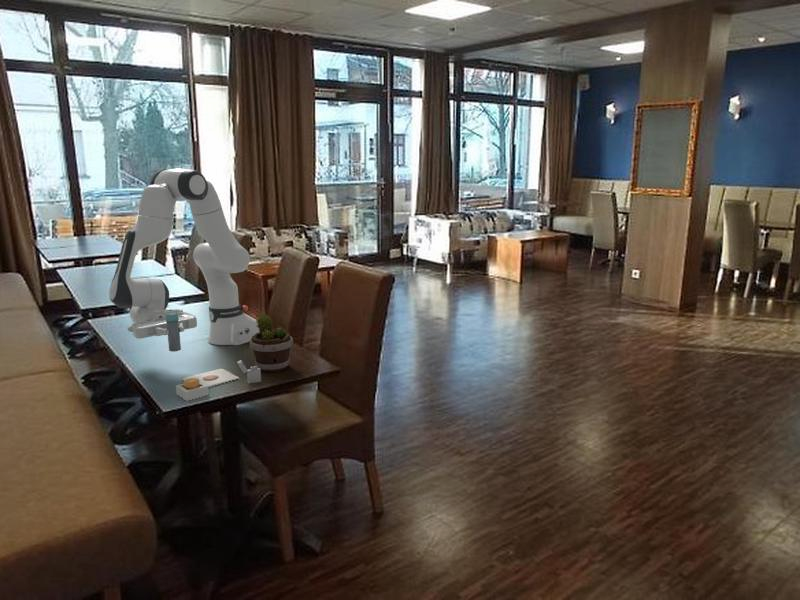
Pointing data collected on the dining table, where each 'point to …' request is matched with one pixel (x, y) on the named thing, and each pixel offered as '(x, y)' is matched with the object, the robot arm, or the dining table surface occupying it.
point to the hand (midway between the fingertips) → (174, 331)
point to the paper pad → (214, 377)
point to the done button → (191, 383)
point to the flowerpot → (270, 346)
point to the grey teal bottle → (173, 331)
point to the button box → (192, 391)
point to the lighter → (251, 373)
